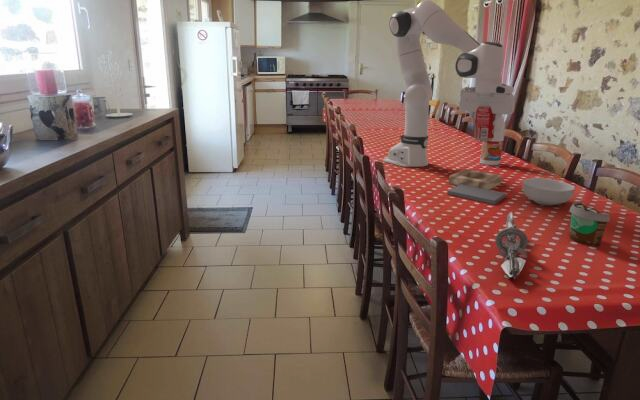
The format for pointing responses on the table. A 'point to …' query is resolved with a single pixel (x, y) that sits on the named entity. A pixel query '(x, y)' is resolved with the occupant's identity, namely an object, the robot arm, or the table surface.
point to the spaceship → (512, 247)
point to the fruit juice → (493, 145)
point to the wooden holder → (475, 179)
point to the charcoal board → (477, 194)
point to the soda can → (484, 124)
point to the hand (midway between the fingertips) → (483, 124)
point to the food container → (587, 224)
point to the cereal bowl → (547, 191)
